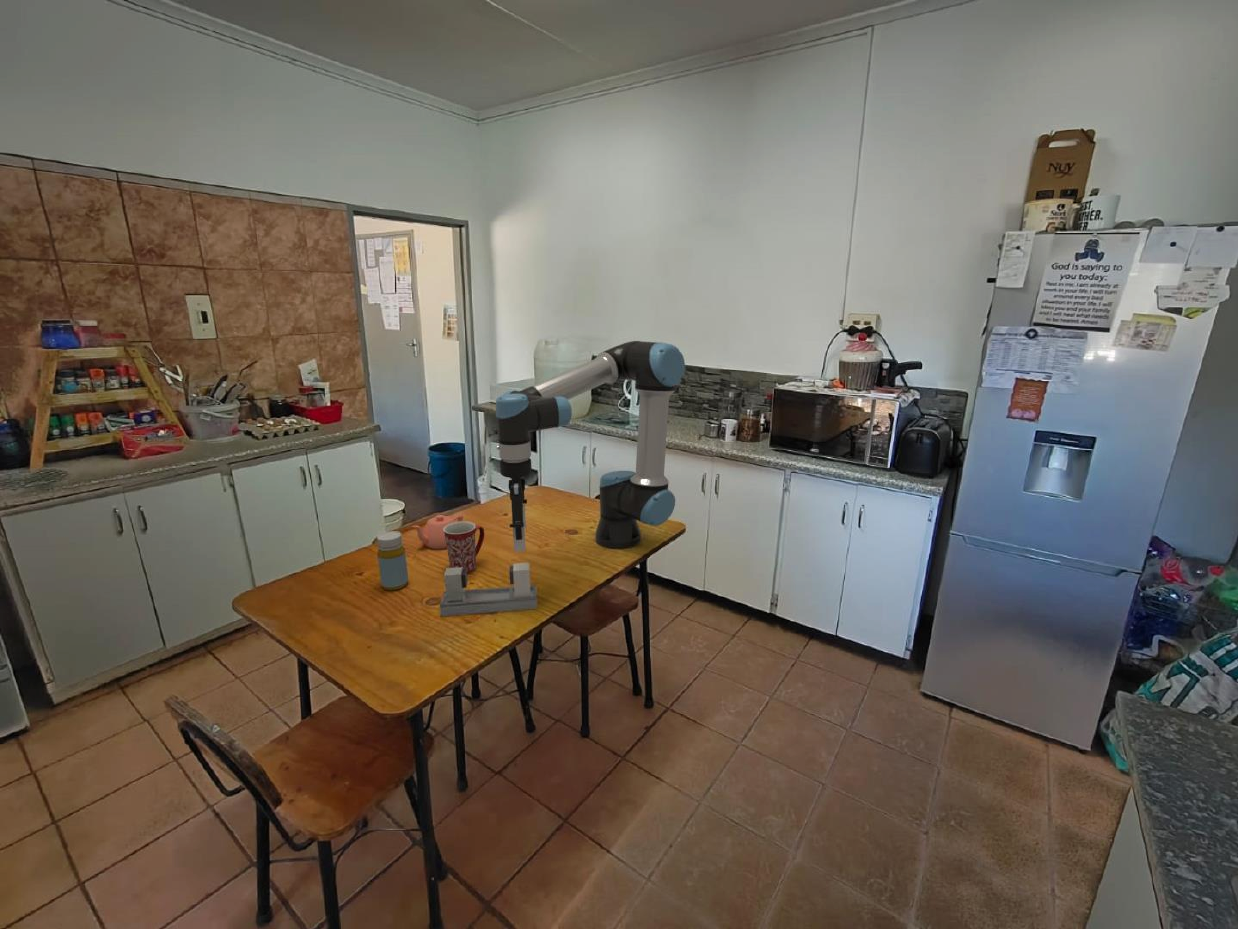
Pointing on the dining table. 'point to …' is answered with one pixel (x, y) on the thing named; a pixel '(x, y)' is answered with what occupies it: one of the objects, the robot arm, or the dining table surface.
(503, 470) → the robot arm
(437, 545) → the teapot
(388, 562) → the bottle
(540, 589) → the dining table surface
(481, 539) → the mug
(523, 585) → the small grey block
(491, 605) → the rail
